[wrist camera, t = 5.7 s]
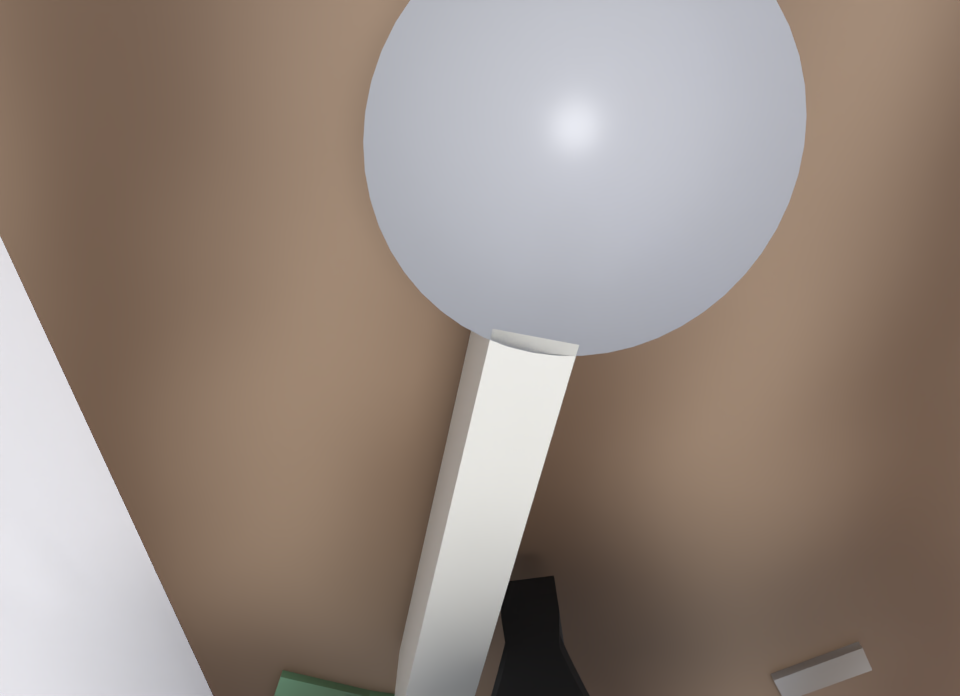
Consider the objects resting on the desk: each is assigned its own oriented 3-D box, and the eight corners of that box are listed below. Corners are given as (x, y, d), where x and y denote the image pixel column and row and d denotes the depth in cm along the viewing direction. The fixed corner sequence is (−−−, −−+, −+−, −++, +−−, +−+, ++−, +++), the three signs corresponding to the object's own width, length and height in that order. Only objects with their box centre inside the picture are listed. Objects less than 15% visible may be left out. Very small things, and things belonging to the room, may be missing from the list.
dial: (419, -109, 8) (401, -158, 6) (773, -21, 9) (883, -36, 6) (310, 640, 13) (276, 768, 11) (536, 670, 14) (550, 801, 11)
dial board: (1205, -467, 8) (1320, -542, 7) (973, 663, 15) (1010, 709, 14) (-142, -199, 9) (-226, -230, 8) (269, 747, 16) (255, 798, 15)
